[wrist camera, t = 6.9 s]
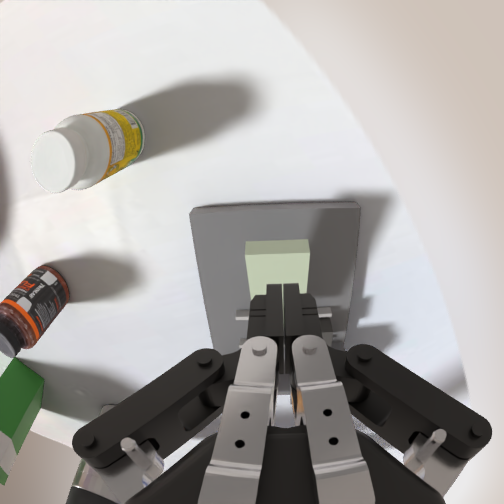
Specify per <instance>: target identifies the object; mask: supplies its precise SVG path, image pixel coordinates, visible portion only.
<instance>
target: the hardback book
mask: <svg viewBox="0 0 504 504" xmlns="http://www.w3.org/2000/svg"><path fill="white" fill-rule="evenodd" d="M43 386H44V379H43V378H42V377H41V376H39V375H38V374H36V373H35V372H34V371H32V370H31V369H30V368H28V367H27V366H26V365H24V364H23V363H22V362H21V361H19V360H18V359H17V358H16V357H14V358H13V360H12V361H11V363H10V364H9V365H8V367H7V368H6V370H5V371H4V373H3V374H2V376H1V377H0V483H1V484H2V485H5V482H6V480H7V478H8V475H9V473H10V470H11V468H12V466H13V464H14V461H15V459H16V457H17V455H18V453H19V450H20V448H21V446H22V444H23V442H24V440H25V438H26V436H27V434H28V432H29V430H30V428H31V426H32V424H33V422H34V420H35V418H36V416H37V414H38V412H39V410H40V409H41V402H42V393H43Z"/></svg>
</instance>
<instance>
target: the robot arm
mask: <svg viewBox="0 0 504 504" xmlns="http://www.w3.org/2000/svg"><path fill="white" fill-rule="evenodd" d="M283 318H284V322H283ZM284 347H285V374H290V391H291V399H292V407H293V414H294V422H295V427H291V428H279V427H274V422H275V412H276V403H277V393H278V386H279V374H284ZM221 413H222V417H221V421H220V426H219V430H218V433H215V434H213V435H211V436H209V437H207V438H206V439H204V440H203V441H201V442H200V443H199V444H198V445H197V446H195V447H194V448H193V449H192V450H191V451H190V452H188V453H187V454H186V455H185V456H184V457H182V458H181V459H180V460H179V461H178V462H176V463H175V464H174V465H173V466H171V467H170V468H169V469H168V470H167V471H165V472H164V473H163V474H161V473H162V471H163V469H164V461H163V459H165V458H166V457H168V456H169V455H170V454H172V453H173V452H174V451H175V450H177V449H178V448H179V447H181V446H182V445H183V444H185V443H186V442H187V441H188V440H190V439H191V438H192V437H193V436H195V435H196V434H197V433H198V432H200V431H201V430H202V429H203V428H205V427H206V426H207V425H208V424H210V423H211V422H212V421H213V420H214V419H216V418H217V417H218V416H219V415H220V414H221ZM351 414H352V415H353V416H355V417H356V418H357V419H358V420H360V421H361V422H362V423H363V424H365V425H366V426H367V427H369V428H370V429H371V430H372V431H374V432H375V433H376V434H378V435H379V436H380V437H382V438H383V439H384V440H386V441H387V442H388V443H390V444H391V445H392V446H394V447H395V448H396V449H398V450H399V451H400V452H402V453H403V454H404V456H403V462H404V465H403V464H402V463H401V462H400V461H398V460H397V459H396V458H395V457H393V456H392V455H391V454H390V453H388V452H387V451H386V450H385V449H383V448H382V447H381V446H380V445H379V444H377V443H376V442H375V441H374V440H373V439H371V438H370V437H369V436H367V435H366V434H364V433H363V432H360V431H358V430H356V429H355V427H354V423H353V419H352V416H351ZM491 436H492V428H491V425H490V423H489V422H488V421H487V419H485V418H484V417H482V416H481V415H479V414H477V413H476V412H474V411H473V410H471V409H470V408H468V407H466V406H465V405H463V404H462V403H460V402H459V401H457V400H455V399H454V398H452V397H451V396H449V395H447V394H446V393H444V392H443V391H441V390H440V389H438V388H437V387H435V386H433V385H432V384H430V383H429V382H427V381H426V380H424V379H422V378H421V377H419V376H418V375H416V374H415V373H413V372H412V371H410V370H409V369H407V368H405V367H404V366H402V365H401V364H399V363H398V362H396V361H395V360H393V359H392V358H390V357H388V356H387V355H385V354H384V353H382V352H381V351H379V350H378V349H376V348H375V347H373V346H370V345H366V344H360V345H356V346H353V347H352V348H351V349H350V350H349V351H348V352H347V351H342V350H337V349H334V348H332V347H330V346H328V345H327V344H326V342H325V341H324V340H323V337H322V332H321V326H320V320H319V315H318V310H317V304H316V300H315V298H314V297H313V296H312V295H311V294H310V293H301V294H300V290H299V283H283V298H282V284H267V285H266V295H255V296H254V298H253V299H252V300H251V302H250V311H249V320H248V330H247V339H246V342H245V343H244V344H243V346H242V348H241V349H239V350H238V351H236V352H234V353H230V354H226V355H221V354H220V353H219V352H218V351H216V350H214V349H209V348H205V349H200V350H197V351H195V352H194V353H192V354H191V355H189V356H188V357H186V358H185V359H184V360H182V361H181V362H179V363H178V364H177V365H175V366H174V367H172V368H171V369H169V370H168V371H166V372H165V373H164V374H162V375H161V376H159V377H158V378H156V379H155V380H153V381H152V382H151V383H149V384H148V385H146V386H145V387H143V388H142V389H140V390H139V391H137V392H136V393H134V394H133V395H131V396H130V397H128V398H127V399H125V400H124V401H122V402H121V403H119V404H118V405H105V406H103V407H102V410H101V412H100V414H99V417H98V418H96V419H94V420H93V421H91V422H90V423H88V424H87V425H85V426H83V427H82V428H80V429H79V430H78V431H77V432H76V433H75V435H74V436H73V440H72V446H73V449H74V451H75V452H76V453H77V454H78V455H79V456H80V457H81V458H82V459H81V461H80V464H79V467H78V469H77V472H76V475H75V478H74V481H73V483H72V487H71V489H70V492H69V495H68V499H67V502H66V504H446V503H445V501H444V499H443V497H444V495H445V494H446V493H447V491H448V490H449V488H450V487H451V486H452V484H453V483H454V482H455V480H456V479H457V477H458V476H459V474H460V473H461V471H462V470H463V468H464V467H465V465H466V464H467V462H468V461H469V460H470V459H472V458H473V457H474V456H475V455H476V454H477V453H478V452H479V451H480V450H481V449H482V448H484V447H485V446H486V444H488V442H489V441H490V439H491ZM160 474H161V475H160Z"/></svg>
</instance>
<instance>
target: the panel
mask: <svg viewBox="0 0 504 504" xmlns="http://www.w3.org/2000/svg"><path fill="white" fill-rule="evenodd" d="M360 210H361V208H360V206H359V205H358V204H357V203H356V202H316V203H281V204H256V205H235V206H218V207H202V208H193V209H192V211H191V212H190V214H189V216H190V223H191V229H192V236H193V242H194V248H195V254H196V260H197V265H198V271H199V277H200V282H201V288H202V293H203V298H204V304H205V309H206V314H207V319H208V324H209V329H210V334H211V339H212V343H213V348H214V350H216V351H218V352H219V353H220V354H221V355H226V354H230V353H234V352H236V351H238V350H239V349H241V348H242V346H243V344H244V343H245V342H246V339H247V330H248V320H249V311H250V302H251V296H250V289H249V281H248V274H247V267H246V260H245V245H246V241H272V240H301V239H308V242H309V249H310V259H309V271H308V281H307V291H306V293H310V294H311V295H312V296H313V297H314V298H315V300H316V304H317V310H318V315H319V317H330V321H331V325H332V329H333V337H332V344H331V347H332V348H334V349H337V350H342V351H345V349H344V340H345V335H346V329H347V323H348V317H349V310H350V304H351V297H352V289H353V282H354V274H355V265H356V256H357V246H358V235H359V223H360ZM277 395H290V402H291V404H292V399H291V391H290V374H285V347H284V374H279V386H278V393H277Z"/></svg>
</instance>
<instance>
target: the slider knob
mask: <svg viewBox="0 0 504 504" xmlns="http://www.w3.org/2000/svg"><path fill="white" fill-rule="evenodd" d="M319 320H320V326H321V332H322V337H323V340H324V341H325V342H326V344H327V345H328V346H330V347H331V344H332V337H333V329H332V325H331V321H330V317H319Z"/></svg>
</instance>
